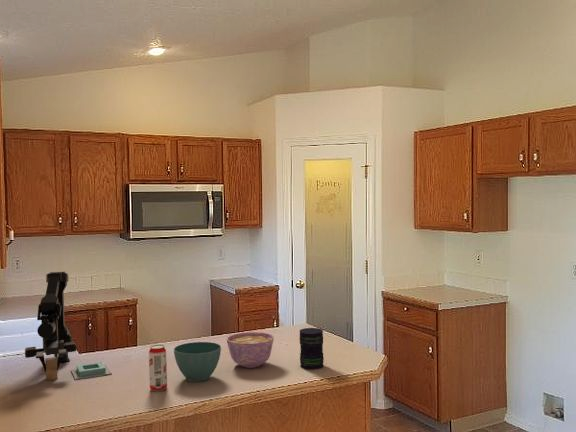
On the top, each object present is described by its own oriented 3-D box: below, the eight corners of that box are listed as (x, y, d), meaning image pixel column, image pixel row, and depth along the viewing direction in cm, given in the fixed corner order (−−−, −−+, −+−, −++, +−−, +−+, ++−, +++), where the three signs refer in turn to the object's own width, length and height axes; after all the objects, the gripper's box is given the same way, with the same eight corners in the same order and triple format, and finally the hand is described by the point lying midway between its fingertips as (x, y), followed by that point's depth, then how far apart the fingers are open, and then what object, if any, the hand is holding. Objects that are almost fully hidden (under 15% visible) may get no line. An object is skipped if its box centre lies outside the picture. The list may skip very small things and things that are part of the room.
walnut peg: (45, 378, 231) (45, 358, 230) (56, 376, 233) (56, 356, 232) (46, 380, 227) (46, 360, 227) (57, 379, 229) (56, 359, 229)
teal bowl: (200, 368, 239) (199, 339, 239) (231, 376, 227) (230, 345, 227) (165, 380, 225) (164, 348, 225) (196, 389, 213) (195, 356, 213)
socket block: (70, 370, 240) (70, 364, 240) (105, 365, 246) (105, 359, 246) (75, 380, 227) (74, 373, 227) (111, 374, 234) (111, 368, 233)
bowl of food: (217, 368, 239) (217, 340, 238) (243, 356, 256) (242, 330, 256) (259, 374, 229) (258, 345, 229) (283, 361, 247) (282, 334, 247)
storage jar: (321, 370, 233) (321, 333, 233) (298, 369, 235) (297, 333, 235) (325, 363, 243) (324, 328, 242) (302, 362, 245) (301, 327, 244)
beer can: (150, 392, 210) (148, 349, 210) (149, 387, 216) (148, 345, 216) (167, 391, 212) (166, 347, 211) (166, 385, 218) (165, 343, 217)
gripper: (25, 339, 218) (26, 380, 218) (77, 333, 226) (78, 372, 227) (24, 333, 228) (25, 372, 228) (74, 327, 236) (75, 365, 237)
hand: (51, 371), depth 230 cm, fingers closed on walnut peg, 4 cm apart
